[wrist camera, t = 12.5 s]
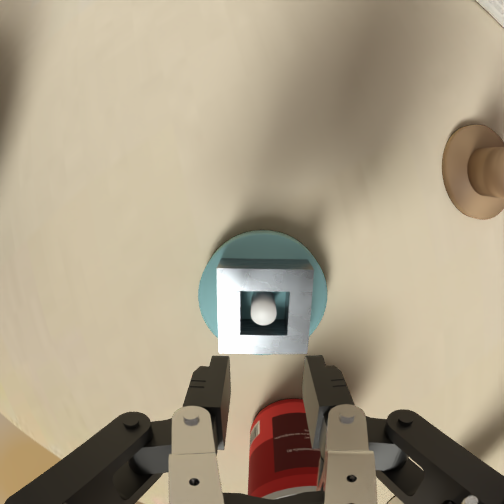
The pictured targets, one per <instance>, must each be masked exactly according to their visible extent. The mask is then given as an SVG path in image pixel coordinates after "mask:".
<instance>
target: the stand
mask: <svg viewBox="0 0 504 504" xmlns="http://www.w3.org/2000/svg"><path fill="white" fill-rule="evenodd" d="M442 174H443V180H444V185H445V188H446V191H447V193H448V196H449V198H450V199H451V201H452V203H453V204H454V205H455V207H456V208H457V209H458V210H459V211H460V212H462V213H463V214H465V215H467V216H469V217H472V218H476V219H482V220H485V219H490V218H493V217H495V216H496V215H498V214H499V213H500V212H501V211H502V210H503V209H504V142H503V141H502V139H501V138H500V137H499V136H498V135H497V134H496V133H495V132H494V131H493V130H492V129H490V128H488V127H486V126H483V125H470V126H465V127H462V128H460V129H458V130H457V131H455V132H454V133H453V134H452V136H451V137H450V138H449V140H448V142H447V144H446V147H445V150H444V153H443V159H442Z"/></svg>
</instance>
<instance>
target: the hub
mask: <svg viewBox="0 0 504 504" xmlns="http://www.w3.org/2000/svg"><path fill="white" fill-rule="evenodd" d="M221 258H246V259H308V260H309V262H310V264H311V265H312V267H313V269H314V279H313V293H312V306H311V318H310V329H309V336H310V335H311V334H312V333H313V331H314V330H315V329H316V328H317V326H318V324H319V323H320V321H321V319H322V317H323V314H324V311H325V308H326V303H327V286H326V281H325V277H324V274H323V272H322V270H321V267H320V266H319V264H318V263H317V261H316V260H315V258H314V257H313V255H312V254H311V253H310V252H309V250H308V249H307V248H306V247H305V246H304V245H303V244H302V243H300V242H299V241H297V240H296V239H294V238H293V237H291V236H289V235H286V234H283V233H281V232H276V231H271V230H254V231H249V232H245V233H242V234H239V235H237V236H235V237H233V238H231V239H230V240H228V241H227V242H225V243H224V244H223V245H222V246H221V247H219V248H218V250H217V251H216V252H215V253H214V254H213V256H212V257H211V259H210V261H209V262H208V264H207V266H206V268H205V270H204V272H203V274H202V277H201V280H200V284H199V291H198V299H199V307H200V310H201V314H202V316H203V319H204V321H205V323H206V324H207V326H208V328H209V329H210V330H211V331H212V333H213V334H214V335H215V336H216V337H217V338H218V310H217V266H218V264H219V262H220V259H221ZM285 297H286V292H272V291H242V319H252V320H253V321H254V322H255V323H257V324H259V325H268V324H271V323H272V322H273V321H274V320H275V319H284V317H285ZM255 355H270V354H255Z"/></svg>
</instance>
